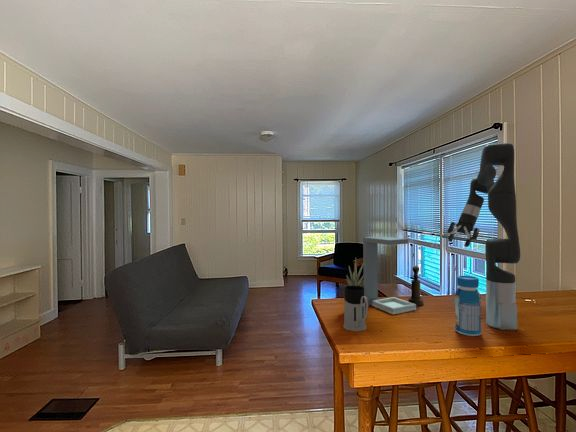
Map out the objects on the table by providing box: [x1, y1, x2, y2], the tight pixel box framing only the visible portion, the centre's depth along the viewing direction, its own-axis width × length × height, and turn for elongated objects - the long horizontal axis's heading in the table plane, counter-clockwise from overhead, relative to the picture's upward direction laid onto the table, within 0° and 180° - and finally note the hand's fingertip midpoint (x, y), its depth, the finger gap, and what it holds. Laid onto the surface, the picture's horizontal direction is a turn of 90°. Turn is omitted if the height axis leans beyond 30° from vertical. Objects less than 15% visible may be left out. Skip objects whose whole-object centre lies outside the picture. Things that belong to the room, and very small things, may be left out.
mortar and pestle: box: [408, 265, 425, 306], centre depth 147 cm, size 7×6×18 cm
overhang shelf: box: [362, 235, 417, 315], centre depth 142 cm, size 16×17×32 cm
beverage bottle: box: [454, 275, 483, 337], centre depth 112 cm, size 8×8×20 cm
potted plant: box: [343, 258, 367, 303], centre depth 134 cm, size 10×10×25 cm
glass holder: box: [342, 285, 369, 332], centre depth 116 cm, size 9×14×15 cm, turn 15°
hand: (457, 244), depth 159 cm, fingers open, 8 cm apart
